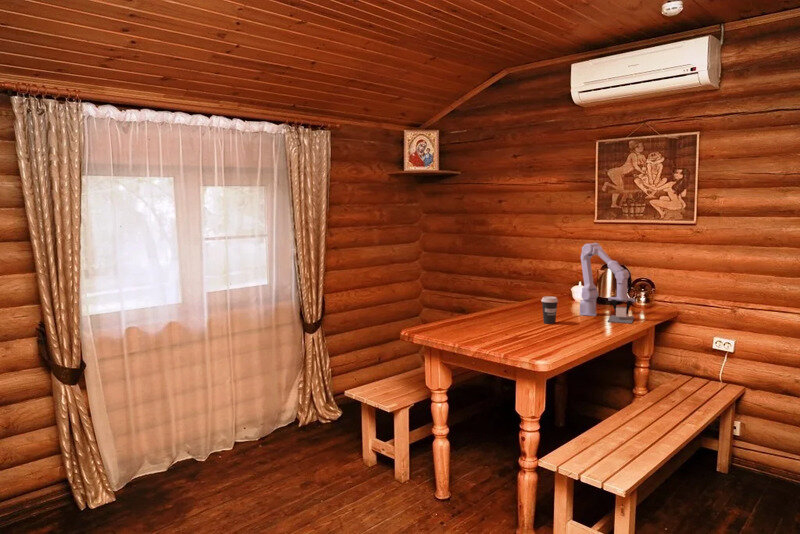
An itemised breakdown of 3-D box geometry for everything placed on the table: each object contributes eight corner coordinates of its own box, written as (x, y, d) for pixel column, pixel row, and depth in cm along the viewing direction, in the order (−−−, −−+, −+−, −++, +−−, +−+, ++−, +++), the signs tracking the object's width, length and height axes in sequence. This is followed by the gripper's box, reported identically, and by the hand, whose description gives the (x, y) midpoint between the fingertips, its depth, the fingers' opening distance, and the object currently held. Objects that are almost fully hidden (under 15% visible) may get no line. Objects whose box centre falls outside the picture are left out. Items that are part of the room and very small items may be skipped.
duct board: (607, 322, 331) (607, 314, 331) (611, 316, 347) (611, 309, 347) (631, 323, 326) (632, 316, 325) (634, 317, 342) (634, 310, 341)
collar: (615, 316, 335) (616, 307, 334) (616, 314, 340) (616, 306, 339) (626, 317, 332) (626, 308, 332) (626, 315, 337) (627, 306, 337)
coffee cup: (539, 324, 330) (539, 298, 328) (543, 320, 339) (543, 295, 337) (555, 325, 326) (556, 299, 324) (559, 322, 334) (559, 296, 332)
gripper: (608, 290, 334) (607, 313, 336) (634, 292, 328) (634, 315, 329) (609, 289, 340) (608, 311, 342) (635, 290, 334) (635, 313, 336)
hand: (621, 313), depth 336 cm, fingers closed on collar, 6 cm apart
